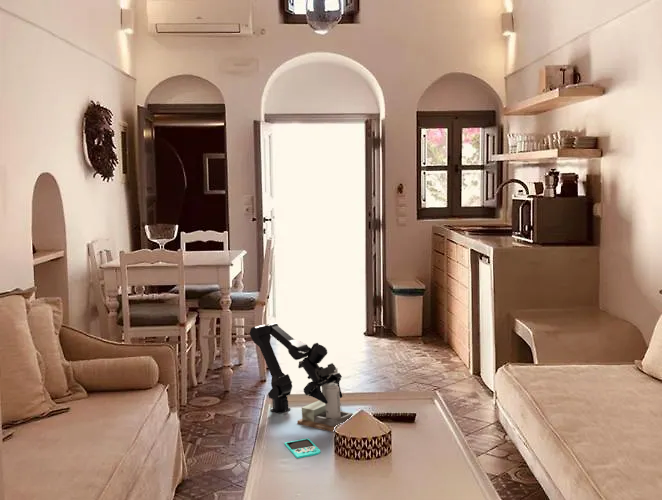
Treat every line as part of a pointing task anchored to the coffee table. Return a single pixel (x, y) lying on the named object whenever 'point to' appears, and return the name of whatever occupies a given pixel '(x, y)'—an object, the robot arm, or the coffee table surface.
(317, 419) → the port plate
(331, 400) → the energy drink can
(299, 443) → the handheld game console
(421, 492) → the coffee table surface
